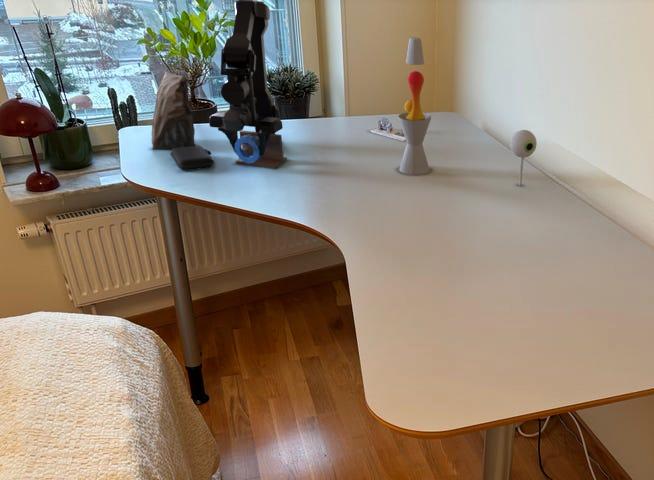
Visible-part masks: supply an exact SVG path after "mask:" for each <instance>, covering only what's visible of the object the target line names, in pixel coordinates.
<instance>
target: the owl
mask: <svg viewBox="0 0 654 480" xmlns="http://www.w3.org/2000/svg"><path fill="white" fill-rule="evenodd" d="M187 82H188V77H186V76H185V75H180V74H174V73H173V72H172V71H168V70H166V71H165V73H164V75H163V76H162V79H161V82H160V84H159V87H158V88H157V91H156V96H155V105H154V110H153V116H152V122H151V145H152V150H153V151H154V150H159V151H160V150H161V151H172V150H173V149H174V148H182V147H193V146H197V145H196V144H195V133H196V132H195V131H196V129H195V126H194V117H193V113H192V104H191V101H190V99H189V87H188V83H187Z"/></svg>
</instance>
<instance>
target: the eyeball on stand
mask: <svg viewBox="0 0 654 480" xmlns="http://www.w3.org/2000/svg"><path fill="white" fill-rule="evenodd" d="M537 146H538V145H537V138H536V135H534V133H533V132H532V131H531V130H527V129H520V130H517V131H516V132H515V133H513V134H512V136H511V137H510V140H509V148H510V151H511V152H512V154H514V155H515V156H516V157H518V158H520V167H519V181H518V186H519V187H521V186H522V183H523V172H524V171H523V170H524V168H523V167H524V158H528V157H530V156H531V155H533V154H534V152H535V151H536V149H537Z"/></svg>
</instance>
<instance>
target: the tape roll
mask: <svg viewBox="0 0 654 480" xmlns="http://www.w3.org/2000/svg"><path fill="white" fill-rule="evenodd" d="M244 143H248V144H250V145H251V146H252V147H253V149H254V154H253V155H250V154H247V152H245V151H244V150H242V149H241V145H242V144H244ZM235 151H236V153H235V155H236V156H237V157H238V159H241V160H242V161H243V162H247V163H254V162H255V161H257V160H258V159H260V158H261V155H260V147H259V139H257V138H256V137H255V136H251V135H244V136H242V137H241V138H240V137H238V140H237V141H236V143H235ZM235 151H234V152H235Z"/></svg>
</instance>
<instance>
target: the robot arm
mask: <svg viewBox="0 0 654 480" xmlns="http://www.w3.org/2000/svg"><path fill="white" fill-rule="evenodd" d="M234 9H235V10H234V13H235V16H234V22H233V27H232V34H231V36H229V37H228V38H227V39H226V40H225V41H224V45H223V48H221V51H220V52H221V53H220V76H226V79H227V80H226V81H225V82H224V84H222V86H221V88H220V89H221V90H220V94H221V97H222V99H223V100H224V101H225V102H226V103H227V104H229V109H228V110H226V111H225V112H223V111H218V112H216V113H214V114H211V115H210V116H209V119H208V124H209V127H210V128H217V130H218V131H219V132H222V133H223V134H224V135H225V136H226V138H227V140H228V142H229V143H230V145H231V147H232V149H233V151H234V153H235V154H236V151H235V143H236V141H237V140H238V139H239V133H238V132H240V131H244V128H245V127H250V128H251V127H252V128H254V130H255V131H254V132H258V133H257V135H258V137H259V147H260V155H261V156H263V155H264V152H265V149H266V146H267V143H268V140H269V137H270V135H271V134H277V133H278V132H279V131H280V130H283V122H282V119H281V115H280V112H279V110H278V108H277V105H275V99H274V98H275V97H273V95H272V94H271V92H270V91H269V88H268V77H267V76H268V75H267V65H266V52H265V51H266V50H265V39H264V36H265V33H266V32H267V29H268V27H269V20H270V18H271V11H270V7H269V5H267V4H266V3H265V1H262V0H261V1H260V0H235V2H234Z"/></svg>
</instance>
